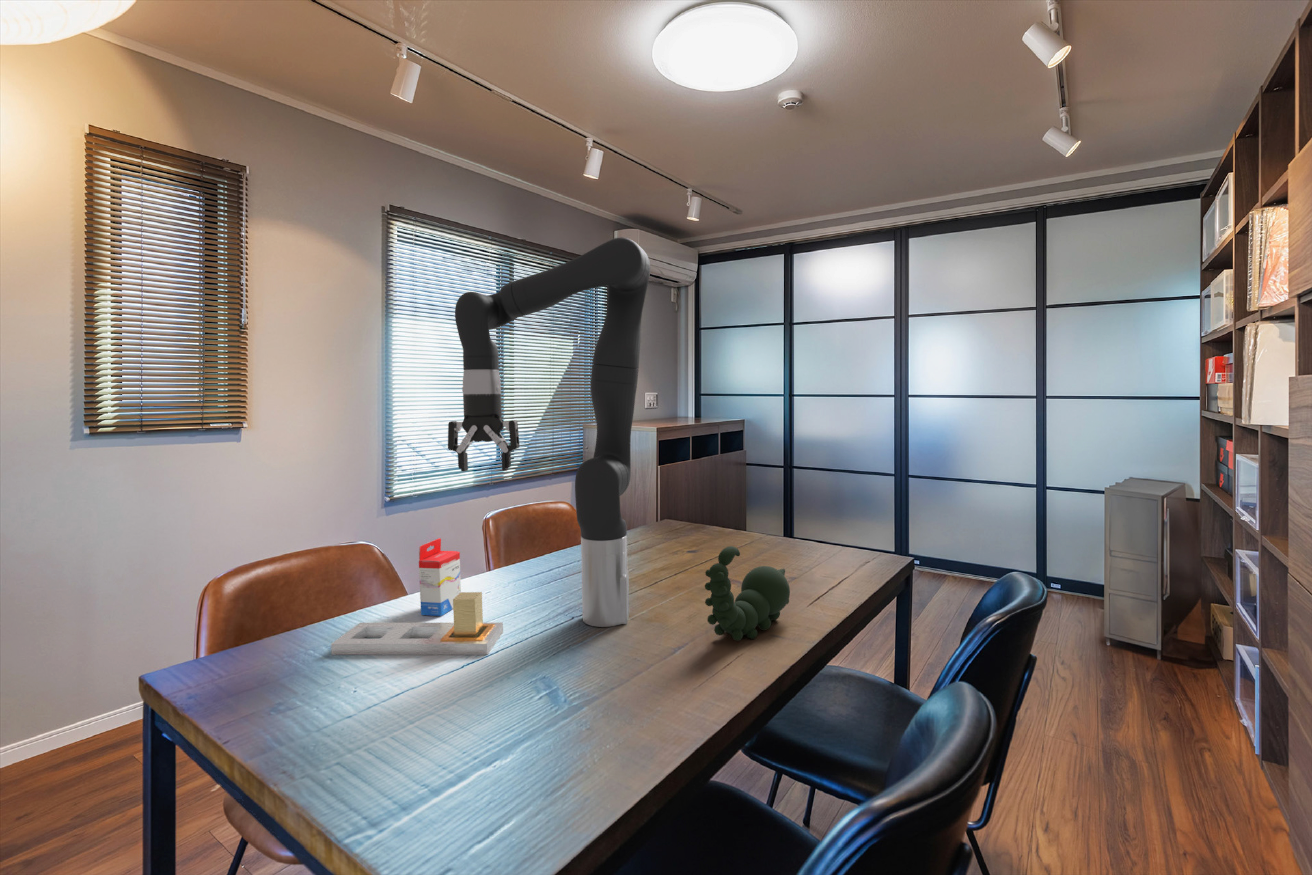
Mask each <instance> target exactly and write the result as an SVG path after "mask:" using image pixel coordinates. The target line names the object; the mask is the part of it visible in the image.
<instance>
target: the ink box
mask: <svg viewBox="0 0 1312 875" xmlns="http://www.w3.org/2000/svg"><path fill="white" fill-rule="evenodd" d="M441 544H442V538H441V537H439V538H437V539H434V540H431V541H428V542H426V543H424V544H422V545H420V546H419V547H418V576H419V577H418V578H419V597H420V598H419V599H420V615H421V616H432V617H442V616H444V615H445V614H447V613H449V612H450V611H452V610H453V599H454V598H455V597H456V596H457V595H458V594H459V593H460V592H462V588H461V587H462V584H461V581H462V580H461V555H460V554H461V552H460V551H457V550H456V551H455V550H442V545H441ZM430 547H433V548H431V549H430ZM428 549H430V550H428Z"/></svg>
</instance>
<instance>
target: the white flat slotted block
mask: <svg viewBox="0 0 1312 875" xmlns="http://www.w3.org/2000/svg"><path fill="white" fill-rule="evenodd" d="M503 634H504V623H503V622H483V633H482V634H481V635H480V637H479V638H454V622H359V623H358V624H357V625H355V626H353V627H352V628H350V629H349V630H348V631H347V632H345V633H344V634H343V635H341V636H340V637H339V638H337V639H335V640H334V641H332V643H331V644H330V650H331V655H332V656H335V655H336V656H337V655H342V656H343V655H344V656H345V655H349V656H350V655H354V656H355V655H356V656H357V655H360V656H365V655H367V656H368V655H369V656H370V655H373V656H375V655H376V656H377V655H378V656H379V655H380V656H383V655H385V656H386V655H387V656H390V655H393V656H394V655H395V656H396V655H397V656H398V655H399V656H404V655H406V656H408V655H409V656H410V655H415V656H417V655H419V656H421V655H422V656H423V655H429V656H433V655H434V656H435V655H437V656H439V655H440V656H445V655H447V656H448V655H449V656H450V655H451V656H453V655H454V656H455V655H459V656H463V655H465V656H470V655H471V656H475V655H477V656H478V655H481V656H487V655H489V653H490V652H491V651H492V649H493V648H494V646H495V645H496V644H497V642H498V640H499V639H500V638H501V636H502V635H503Z"/></svg>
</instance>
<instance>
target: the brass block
mask: <svg viewBox="0 0 1312 875" xmlns="http://www.w3.org/2000/svg"><path fill="white" fill-rule="evenodd" d="M452 610H453V613H452V614H453V623H454V638H479V637H480V635H481V634H482V633H483V623H484V619H483V618H484V617H483V616H484V615H483V592H482V591H475V592H474V591H468V592H467V591H464V592H463V591H461V592H460V593H459V594H458V595H457V596H456V597H455V598H454V599H453V609H452Z"/></svg>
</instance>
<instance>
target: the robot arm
mask: <svg viewBox="0 0 1312 875" xmlns="http://www.w3.org/2000/svg"><path fill="white" fill-rule="evenodd" d="M650 275H651V260H650V258H649V256H648V254H647V253H646V251H645V250H644V249H643V248H642V247H641V246H640V245H639V244H638V243H637V242H636V241H634V240H632V239H630V238H628V237H621V236H620V237H615V238H612V239H610V240H607V241H606V242H603V243H602V244H600V245H597V246H596V247H594V248H592V249H590V250H589V251H587V252H584V254H581V255H580V256H577V257H575V258H573V259H571V260H568V261H565V263H562V264H559V265H558V266H555V267H552V268H549V269H546V270H544V271H541V272H538V273H534V274H532V275H528V276H524V277H522V278H520V279H517V280H514V281H511V282H508V283H506V284H504V285H503V286H502V287H501V289H500V290H499V291H498V292H495V293H493V294H488V295H486V294H482V293H479V292H476V291H467V292H464V293H463V294H461V295H460V296H459V298H458V299H457V301H456V303H455V307H454V320H455V325H456V328H457V333H458V336H459V337H458V338H459V342H460V344H461V347H462V364H463V366H462V367H463V374H462V376H463V377H462V387H461V388H462V389H461V390H462V391H461V392H462V398H463V401H462V402H463V406H462V407H463V420H462V421H456V420H452V421H449V422H447V423H448V425H447V426H448V427H447V449H448V450H449V451H452V452H455V453H456V454H457V466H458V469H460V471H461V472H467V471H468V470H469V463H468V457H469V456H468V452H467V450H468V449H469V447H470V446H471V445H472V444H473V443H475V442H476V443H477V442H478V443H479V442H485V443H487V442H488V443H489V442H494V443H495V444H496V446H498V448H499V449H500V450H501V451H502V452H501V470H502V471H503V472H507V471H508V470H509V469H510V468H511V466H512V451H514V450H517V449H519V448H520V436H519V425H518V421H517V420H516V419H512V420H509V421H507V420H506V421H505V420H503V417H502V416H503V415H502V387H501V386H502V384H501V383H502V382H501V376H500V362H499V361H500V360H499V356H500V355H499V348H498V345H497V344H496V342H494V341H493V340H492V338H491V335H490V331H491V330H495V329H498V328H501V327H502V326H504V325H505V326H506V325H507V324H509V323H511V322H513V321H515V320H516V319H518V318H520V317H524V316H528V315H532V314H534V313H537V312H540V311H543V310H544V311H545V310H547V309H549V308H551V307H553V306H556V305H558V304H559V303H561V302H562V301H565V300H567V299H568V298H569V297H571V296H573V295H576V294H578V293H581V292H584V291H587V290H590V289H591V290H592V289H596V288H601V287H602V288H603V287H607V304H606V314H605V317H604V322H603V324H602V325H603V326H602V327H601V331H600V333H599V336H598V339H597V342H596V344H595V348H594V352H593V356H592V357H593V358H592V365H591V376H590V396H591V402H592V408H593V411H594V416H595V422H596V438H595V446H594V452H593V457H591V458H589V459H587V460H585V461H584V462H582V463H581V464H580V466H579V467H578V469H577V471H576V473H575V481H574V496H575V510H576V511H575V512H576V513H575V514H576V521H577V524H578V526H579V528H580V554H581V556H580V557H581V558H580V560H581V562H580V563H581V564H580V565H581V598H582V601H581V602H582V603H581V604H582V607H581V608H582V621H583V623H585V624H586V625H589V626H592V627H596V628H597V627H598V628H605V627H606V628H607V627H614V626H618V625H627V624H628V621H629V616H630V590H629V588H630V586H629V584H630V583H629V582H630V581H629V579H630V578H629V576H630V575H629V569H628V537H627V536H628V534H627V532H628V531H627V530H628V529H627V526H628V525H627V522H626V520H625V519H623V517H622V515H621V499H620V497H621V496H622V495H623V494H624V493H626V491H627V490H628V488H629V486H630V482H631V473H632V472H631V471H632V470H631V469H632V467H631V464H632V460H631V457H632V456H631V448H632V447H631V446H632V445H631V443H632V442H631V437H632V436H631V435H632V427H633V420H634V414H635V413H634V412H635V404H636V395H637V388H638V380H639V379H638V378H639V369H640V354H641V342H642V340H641V339H642V337H641V336H642V332H641V331H642V318H643V312H644V310H643V309H644V305H645V301H646V300H645V299H646V295H647V290H648V285H649V280H650ZM504 427H505V429H506V431H507V432H509V442H510V444H509V443H508V442H507V440H506V439H505V437H504V436H503V435H502V433H501V432H502V431H503V429H504ZM461 429H463V430H464V431H465V432H466V435H465V436H464V438H462V440H461V442H460V444H459V443H458V442H459V432H460V431H461Z"/></svg>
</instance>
